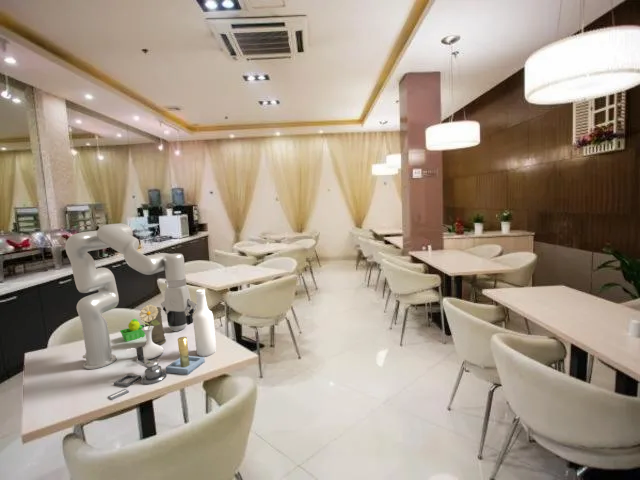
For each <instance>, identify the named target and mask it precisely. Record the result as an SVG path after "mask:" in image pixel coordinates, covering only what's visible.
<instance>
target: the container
mask: <svg viewBox="0 0 640 480" xmlns="http://www.w3.org/2000/svg"><path fill="white" fill-rule="evenodd" d="M156 307H157V309H158V310H157V311H158V314H157V316H156V318H155V319H154V320H157V321H158V322H159V323H160V324H159V325H156V326H154V325H153V324H152V323H151V321H154V320H151V321H150V322H146V321H145V323H148V324H149V325H150V323H151V325H150V326H154V327H153V329H152V333H151V337H152V342H153V343H155V344H157V345H159V346H162V345H164V344H165V343H166V342H167V339H166V336H165V331H164V327H163V319H162V317H163V316H162V307H158V306H156ZM149 325H147V324H144V326H145V327H147V326H149Z"/></svg>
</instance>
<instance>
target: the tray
mask: <svg viewBox="0 0 640 480" xmlns="http://www.w3.org/2000/svg"><path fill="white" fill-rule="evenodd" d="M189 362H190V365H189V366H187V367H181V364H180V357H179V358H177V359H175V360H174V361H172V362H171V363H169V364H167V366H165V372H166V373H171V374H180V375H181V374H182V375H190V374H191V373H192V372H194V371H195V370H197V369H198V368H199V367H200V366H202V365H203V364H204V363H205V362H206V361H205V356H204V357H202V356H194V355H189ZM194 369H195V370H194ZM193 370H194V371H193Z"/></svg>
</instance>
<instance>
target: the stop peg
mask: <svg viewBox="0 0 640 480" xmlns="http://www.w3.org/2000/svg"><path fill="white" fill-rule="evenodd" d="M187 337H188V336H181V337H178V338H177V345H178V347H177V348H178V352H179V358H180V364H181V367H187V366H189V365H190V362H189V356H190V354H189V346H188V339H187Z"/></svg>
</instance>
